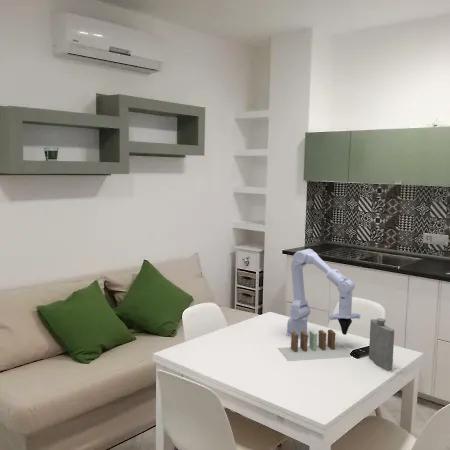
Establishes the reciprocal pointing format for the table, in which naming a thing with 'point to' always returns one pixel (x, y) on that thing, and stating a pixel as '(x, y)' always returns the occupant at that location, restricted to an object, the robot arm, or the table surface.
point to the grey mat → (315, 353)
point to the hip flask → (381, 344)
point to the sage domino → (313, 340)
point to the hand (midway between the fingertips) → (344, 333)
